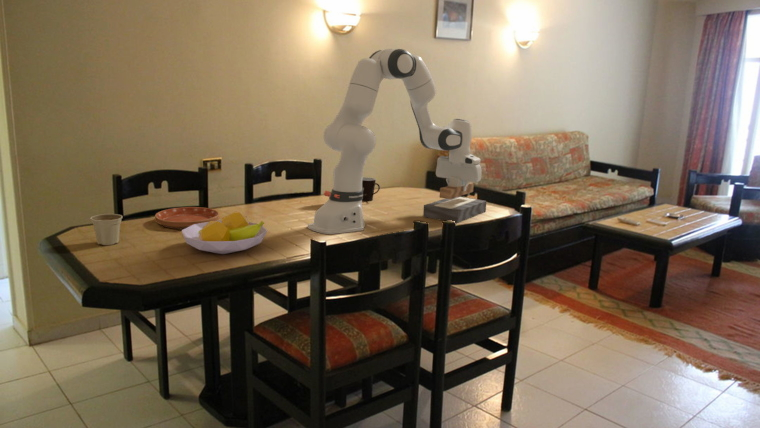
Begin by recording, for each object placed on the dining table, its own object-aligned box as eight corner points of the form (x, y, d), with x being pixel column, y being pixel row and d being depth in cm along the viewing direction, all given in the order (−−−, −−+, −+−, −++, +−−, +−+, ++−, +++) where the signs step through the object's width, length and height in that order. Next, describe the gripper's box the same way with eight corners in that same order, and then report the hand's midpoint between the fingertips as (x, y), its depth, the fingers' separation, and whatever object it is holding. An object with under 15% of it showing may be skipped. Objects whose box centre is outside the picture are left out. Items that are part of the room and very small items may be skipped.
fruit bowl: (167, 245, 184) (166, 211, 181) (241, 232, 203) (240, 201, 200) (210, 267, 165) (208, 230, 162) (286, 251, 183) (286, 217, 181)
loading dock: (457, 223, 230) (458, 210, 228) (423, 216, 238) (423, 204, 237) (485, 211, 252) (486, 200, 251) (453, 206, 261) (454, 195, 260)
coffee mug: (353, 198, 269) (354, 177, 267) (370, 197, 273) (371, 177, 270) (363, 203, 259) (364, 182, 257) (380, 202, 262) (381, 181, 260)
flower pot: (115, 237, 191) (113, 212, 189) (129, 243, 185) (128, 217, 183) (87, 242, 184) (84, 216, 182) (100, 248, 178) (98, 222, 176)
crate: (457, 187, 238) (458, 177, 237) (449, 186, 240) (449, 176, 240) (461, 186, 241) (462, 176, 241) (453, 184, 244) (454, 175, 243)
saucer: (217, 230, 205) (217, 220, 204) (150, 231, 200) (150, 221, 199) (220, 215, 227) (220, 206, 226) (160, 216, 222) (160, 207, 221)
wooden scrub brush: (450, 199, 233) (450, 189, 232) (439, 197, 236) (440, 188, 235) (473, 191, 251) (473, 182, 250) (462, 190, 254) (463, 181, 253)
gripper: (434, 155, 243) (432, 187, 246) (478, 161, 232) (475, 194, 235) (441, 154, 248) (439, 185, 251) (484, 159, 237) (481, 192, 240)
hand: (457, 189), depth 243 cm, fingers closed on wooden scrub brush, 5 cm apart
